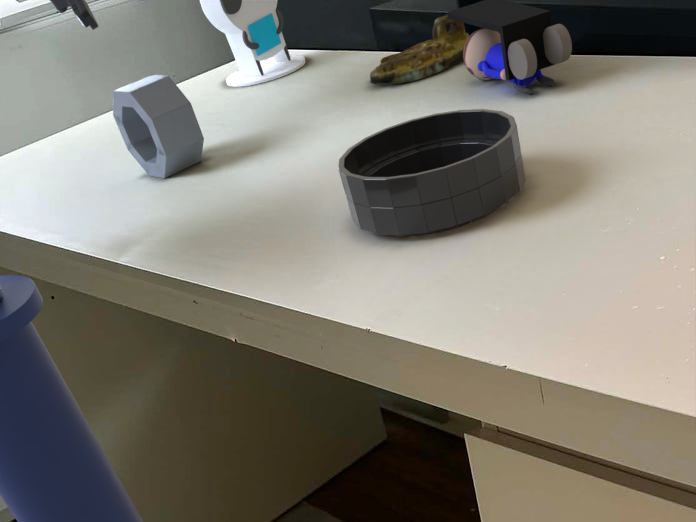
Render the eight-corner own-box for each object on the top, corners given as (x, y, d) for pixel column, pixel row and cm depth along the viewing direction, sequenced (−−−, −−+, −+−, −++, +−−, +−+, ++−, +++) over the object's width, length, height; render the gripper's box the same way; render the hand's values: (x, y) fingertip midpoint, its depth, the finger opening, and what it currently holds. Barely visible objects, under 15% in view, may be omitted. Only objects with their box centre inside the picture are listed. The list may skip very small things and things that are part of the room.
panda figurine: (266, 86, 125) (223, -50, 114) (207, 89, 130) (160, -40, 120) (321, 56, 131) (285, -76, 121) (262, 60, 137) (223, -66, 126)
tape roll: (137, 173, 107) (101, 89, 101) (173, 156, 109) (140, 73, 103) (176, 180, 102) (141, 93, 96) (213, 162, 104) (181, 76, 98)
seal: (399, 101, 110) (493, 56, 116) (391, 56, 107) (488, 12, 112) (353, 86, 116) (444, 43, 121) (343, 43, 112) (438, 1, 117)
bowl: (386, 259, 75) (369, 195, 71) (335, 209, 85) (318, 151, 82) (555, 197, 77) (546, 132, 73) (485, 156, 88) (474, 97, 84)
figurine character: (580, 96, 100) (501, 63, 108) (576, 14, 94) (492, -13, 103) (528, 117, 98) (452, 83, 107) (521, 35, 92) (441, 6, 101)
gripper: (-11, -105, 97) (46, 7, 94) (105, -181, 96) (166, -70, 93) (35, -43, 105) (89, 64, 101) (143, -113, 103) (201, -8, 100)
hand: (126, 0), depth 97 cm, fingers open, 8 cm apart
